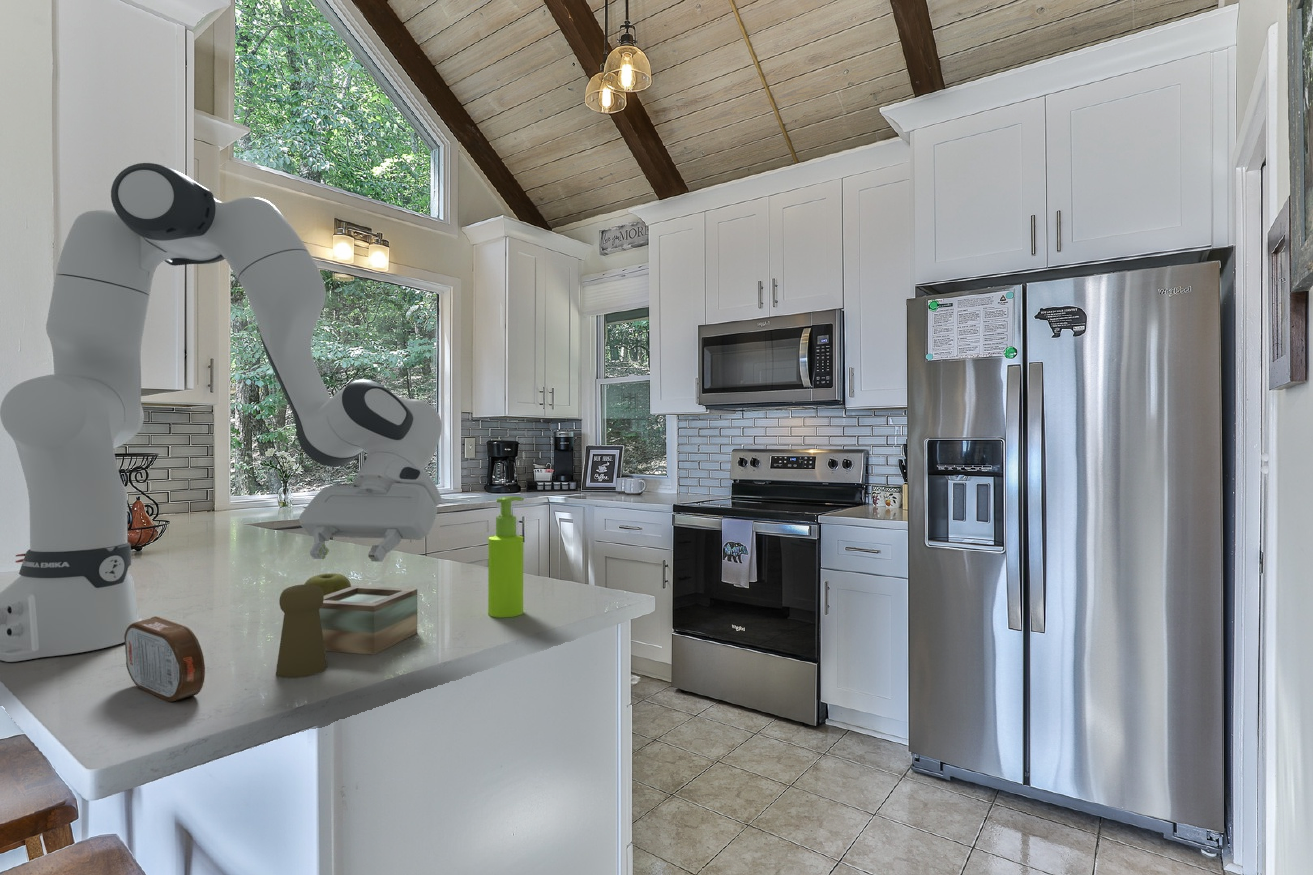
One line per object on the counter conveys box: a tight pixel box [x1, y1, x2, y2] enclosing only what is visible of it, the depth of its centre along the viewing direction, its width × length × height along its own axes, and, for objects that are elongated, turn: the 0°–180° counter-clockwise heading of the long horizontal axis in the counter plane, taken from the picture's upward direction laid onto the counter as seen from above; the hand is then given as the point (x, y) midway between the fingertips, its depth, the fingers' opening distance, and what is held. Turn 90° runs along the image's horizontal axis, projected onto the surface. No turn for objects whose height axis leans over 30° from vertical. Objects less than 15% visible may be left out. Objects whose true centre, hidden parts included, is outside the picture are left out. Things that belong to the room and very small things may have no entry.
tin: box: [124, 616, 206, 703], centre depth 83 cm, size 15×3×8 cm, turn 58°
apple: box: [304, 573, 352, 596], centre depth 116 cm, size 8×8×7 cm
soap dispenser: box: [487, 496, 525, 619], centre depth 120 cm, size 6×7×20 cm
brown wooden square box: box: [319, 585, 418, 655], centre depth 103 cm, size 11×11×7 cm
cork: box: [275, 583, 328, 679], centre depth 91 cm, size 6×6×11 cm
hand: (345, 558), depth 99 cm, fingers open, 8 cm apart
